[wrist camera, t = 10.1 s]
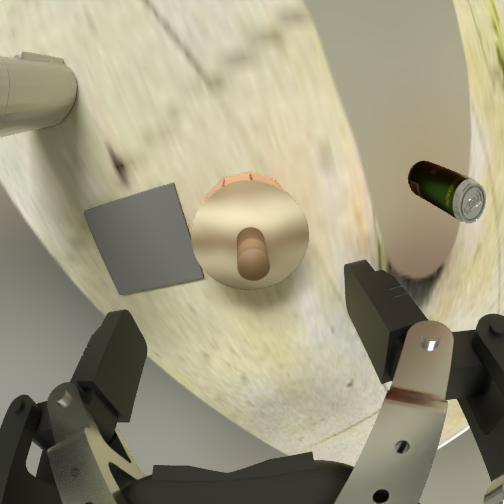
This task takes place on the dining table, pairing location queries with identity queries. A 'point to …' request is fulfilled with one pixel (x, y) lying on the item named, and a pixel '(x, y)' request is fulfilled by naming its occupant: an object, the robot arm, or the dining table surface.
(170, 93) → the dining table surface
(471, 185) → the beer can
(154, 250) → the mat
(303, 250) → the lid
